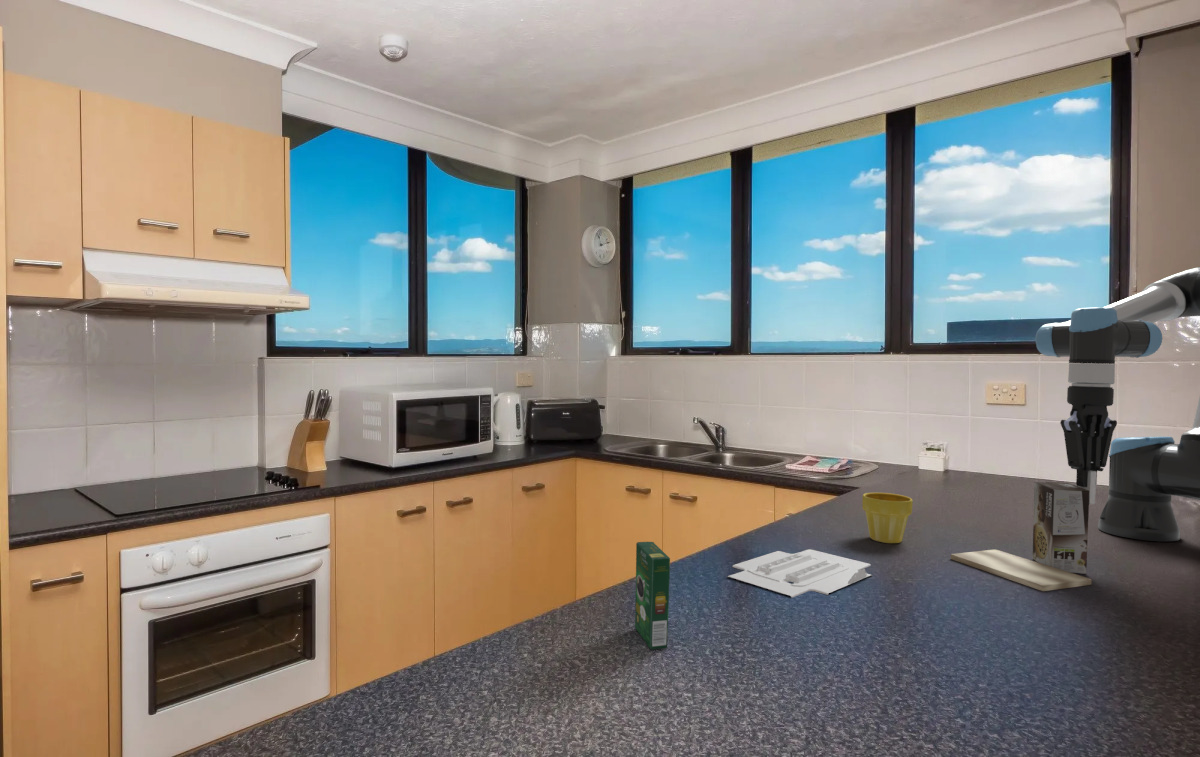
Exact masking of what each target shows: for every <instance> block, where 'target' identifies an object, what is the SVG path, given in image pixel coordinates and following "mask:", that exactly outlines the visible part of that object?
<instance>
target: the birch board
mask: <svg viewBox="0 0 1200 757" xmlns="http://www.w3.org/2000/svg"><path fill="white" fill-rule="evenodd" d="M950 560H953V561H955V562H958V563H961V564H963V565H967V566H969V567H972V568H975V569H979V570H980V571H984V572H987V573H990V574H992V575H996V576H998V577H1001V578H1004V579H1007V580H1010V581H1013V582H1014V583H1017V584H1018V583H1019V584H1020V585H1021V584H1022V585H1024V586H1027V587H1030V588H1032V589H1036V590H1038V591H1040V592H1046V591H1047V592H1048V591H1049V592H1050V591H1054V590H1062V589H1069V588H1077V587H1083V586H1090V585H1091V586H1092V582H1093V581H1092V578H1089V577H1086V576H1083V575H1079V574H1077V573H1070V572H1067V571H1064V570H1060V569H1057V568H1054V567H1051V566H1047V565H1044V564H1041V563H1038V562H1037V561H1035V560H1031V559H1028V558H1025V557H1022V556H1018V555H1015V554H1011V553H1008V552H1006V551H1002V550H999V549H987V550H985V549H984V550H978V551H977V550H976V551H968V552H966V551H965V552H957V553H950Z"/></svg>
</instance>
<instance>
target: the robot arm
mask: <svg viewBox="0 0 1200 757" xmlns="http://www.w3.org/2000/svg"><path fill="white" fill-rule="evenodd" d="M1186 317H1187V318H1188V317H1189V318H1190V317H1200V266H1198V267H1194V268H1190V269H1186V270H1184V271H1181V272H1178V273H1175V274H1172V275H1170V276H1167V277H1164V278H1162V279H1160V280H1156V281H1155V282H1152V283H1150V284H1148V285H1146V287H1144V288H1143V289H1142V290H1141V292H1138V293H1137V294H1134V295H1132V296H1128V297H1125V298H1124V299H1120V300H1119V301H1117V302H1116V301H1115V302H1113V303H1111V304H1108V305H1106V306H1103V307H1102V306H1101V307H1081V308H1076V309H1074V310H1073V311H1072V312H1071V316H1070V320H1068V321H1063V322H1052V323H1046V324H1043V325H1042V326H1040V328H1039V329H1038V330H1037V331H1036V335H1035V341H1034V342H1035V345H1036V349H1037V351H1038V352H1039V353H1040V354H1041V355H1043V356H1045V357H1046V356H1047V357H1056V358H1062V357H1063V358H1064V357H1065V358H1066V357H1067V358H1068V357H1069V359H1068V375H1067V382H1068V383H1069V384H1071V385H1069V386H1068V387H1067V393H1066V394H1067V397H1066V402H1067V404H1069V405H1071V411H1070V413H1069V418H1067V419H1061V420H1060V422H1059V423H1060V427H1061V428H1062V430H1063V436H1064V443H1065V451H1066V458H1067V459H1066V460H1067V465H1068V467H1070V469H1072V470H1076V479H1075V480H1076V482H1075V483H1076V486H1078V487H1081V488H1084V489H1086V490H1089V491H1090V492H1089V505H1095V504H1096V490H1097V488H1096V487H1097V482H1098V481H1097V480H1098V479H1097V478H1098V472H1103V471H1104V468H1106V466H1107V462H1108V459H1109V466H1108V469H1109V471H1108V474H1109V475H1108V498H1107V500H1106V503H1105V504H1104V507H1103V509H1102V511H1101V513H1100V516H1099V517H1098V529H1099V530H1100V531H1102V532H1104V533H1105V534H1110V535H1114V536H1118V537H1122V538H1127V539H1128V538H1129V539H1134V540H1139V541H1149V542H1164V543H1165V542H1177V541H1180V539H1181V528H1180V527H1179V523H1178V519H1177V518H1176V514H1175V512H1174V509H1173V506H1172V496H1173V497H1179V498H1187V499H1192V500H1198V501H1200V396H1199V397H1198V401H1197V406H1196V410H1195V414H1194V419H1193V422H1192V423H1193V424H1192V427H1191V429H1189V430H1188V431H1185V432H1183V433H1181V436H1180V440H1179V443H1176V442H1175V440H1174V437H1172V436H1131V437H1130V436H1128V437H1127V436H1125V437H1116V438H1114V439H1113V434H1114V431H1115V429H1116V427H1117V424H1118V422H1117V420H1115V419H1110V418H1111V417H1109V411H1108V407H1111V406H1113V404H1114V397H1115V396H1114V395H1115V392H1114V391H1115V389H1114V388H1113V387H1111V385H1114V384H1115V381H1116V380H1115V377H1116V375H1115V374H1116V369H1115V368H1116V358H1117V357H1118V358H1122V357H1124V358H1136V359H1138V358H1144V357H1148V356H1152V355H1153V354H1155V353H1156V352H1157V351H1158V350H1159V349H1160V347H1161V345H1162V343H1163V334H1162V331H1161V329H1160V328H1159V327H1158V325H1157V324H1155V323H1156V322H1171V321H1173V320H1176V319H1178V318H1186ZM1112 439H1113V440H1112ZM1108 457H1109V458H1108Z"/></svg>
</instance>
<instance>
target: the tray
mask: <svg viewBox="0 0 1200 757" xmlns="http://www.w3.org/2000/svg"><path fill="white" fill-rule="evenodd" d="M870 567H871V564H870V563H867V562H865V561H860V560H855V559H851V558H847V557H843V556H839V555H834V554H831V553H826V552H824V551H823V552H822V551H819V550H815V549H805V550H802V551H800V552H796V553H789V552H784V551H781V550H777V551H773V552H770V553H767V554H763V555H761V556H758V557H754V558H751V559H748V560H745V561H741V562H739V563H736V564H733V565H732V568H735V569H736V570H737V569H738V570H741V571H739V572H736V573H734V574H733V573H732V574H730V575H728V576H727V577H726V578H731V579H736V580H737V581H741V582H744V583H748V584H751V585H755V586H757V587H761V588H763V589H768V590H769V591H773V592H776V593H779V594H783V595H787V596H790V597H791V598H792V599H793V598H795V597H797V596H800V595H802V594H805V593H808V592H816V593H819V594H823V595H826V596H829V593H833V592H835V591H837V590H840V589H842V588H845V587H847V586H849V585H852V584H854V583H856V582H859V581H860V580H864V579H865V578H868V577H873V574H871V573H870V574H869V573H868V572H867V571H866V569H867V568H870Z"/></svg>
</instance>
